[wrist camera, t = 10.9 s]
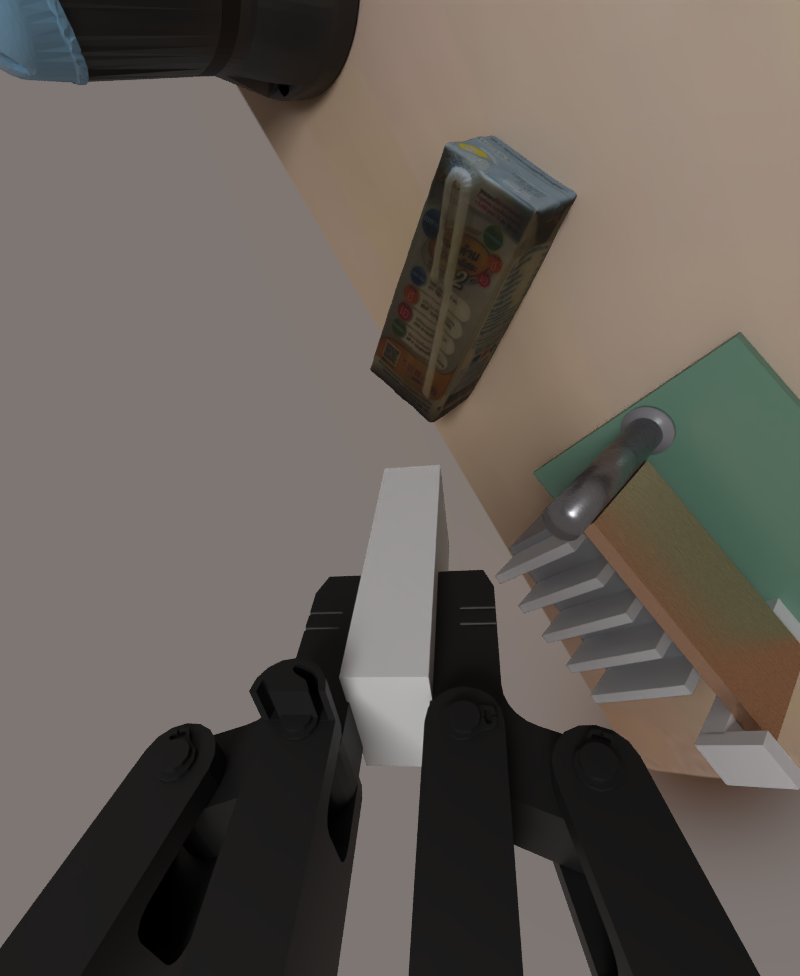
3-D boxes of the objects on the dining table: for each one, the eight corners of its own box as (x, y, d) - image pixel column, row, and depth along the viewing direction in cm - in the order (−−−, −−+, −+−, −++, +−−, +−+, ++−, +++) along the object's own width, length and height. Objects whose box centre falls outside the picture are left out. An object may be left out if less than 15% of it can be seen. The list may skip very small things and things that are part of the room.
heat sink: (537, 469, 47) (437, 559, 39) (740, 331, 31) (646, 433, 23) (685, 649, 46) (615, 782, 37) (972, 598, 30) (960, 807, 22)
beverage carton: (588, 194, 33) (535, 213, 30) (472, 401, 49) (426, 432, 45) (495, 129, 35) (434, 139, 32) (411, 348, 50) (362, 373, 47)
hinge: (620, 428, 38) (535, 514, 31) (647, 411, 36) (562, 498, 29) (788, 631, 37) (738, 765, 30) (825, 624, 35) (781, 767, 28)
